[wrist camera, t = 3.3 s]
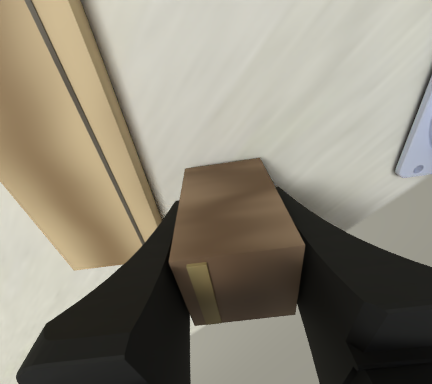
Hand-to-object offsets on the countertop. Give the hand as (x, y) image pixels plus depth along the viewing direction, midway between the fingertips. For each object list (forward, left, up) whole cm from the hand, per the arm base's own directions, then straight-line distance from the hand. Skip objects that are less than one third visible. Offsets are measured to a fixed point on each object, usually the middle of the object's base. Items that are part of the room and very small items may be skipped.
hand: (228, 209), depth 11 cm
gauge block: (0, 0, -1) cm, 1 cm away
